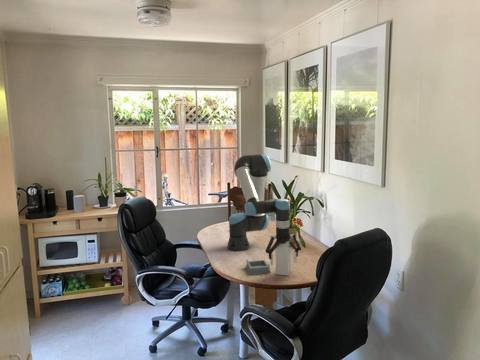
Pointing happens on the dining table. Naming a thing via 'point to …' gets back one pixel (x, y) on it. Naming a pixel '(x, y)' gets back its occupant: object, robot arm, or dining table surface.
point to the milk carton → (283, 258)
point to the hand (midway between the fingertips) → (283, 263)
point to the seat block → (257, 267)
